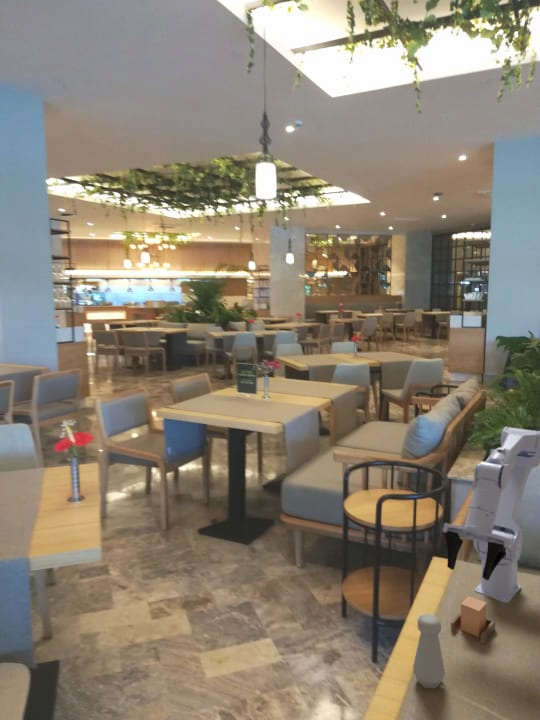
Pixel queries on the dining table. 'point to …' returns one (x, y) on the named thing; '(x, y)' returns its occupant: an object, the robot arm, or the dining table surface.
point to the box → (481, 639)
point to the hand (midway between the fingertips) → (467, 573)
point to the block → (473, 616)
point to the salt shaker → (429, 653)
